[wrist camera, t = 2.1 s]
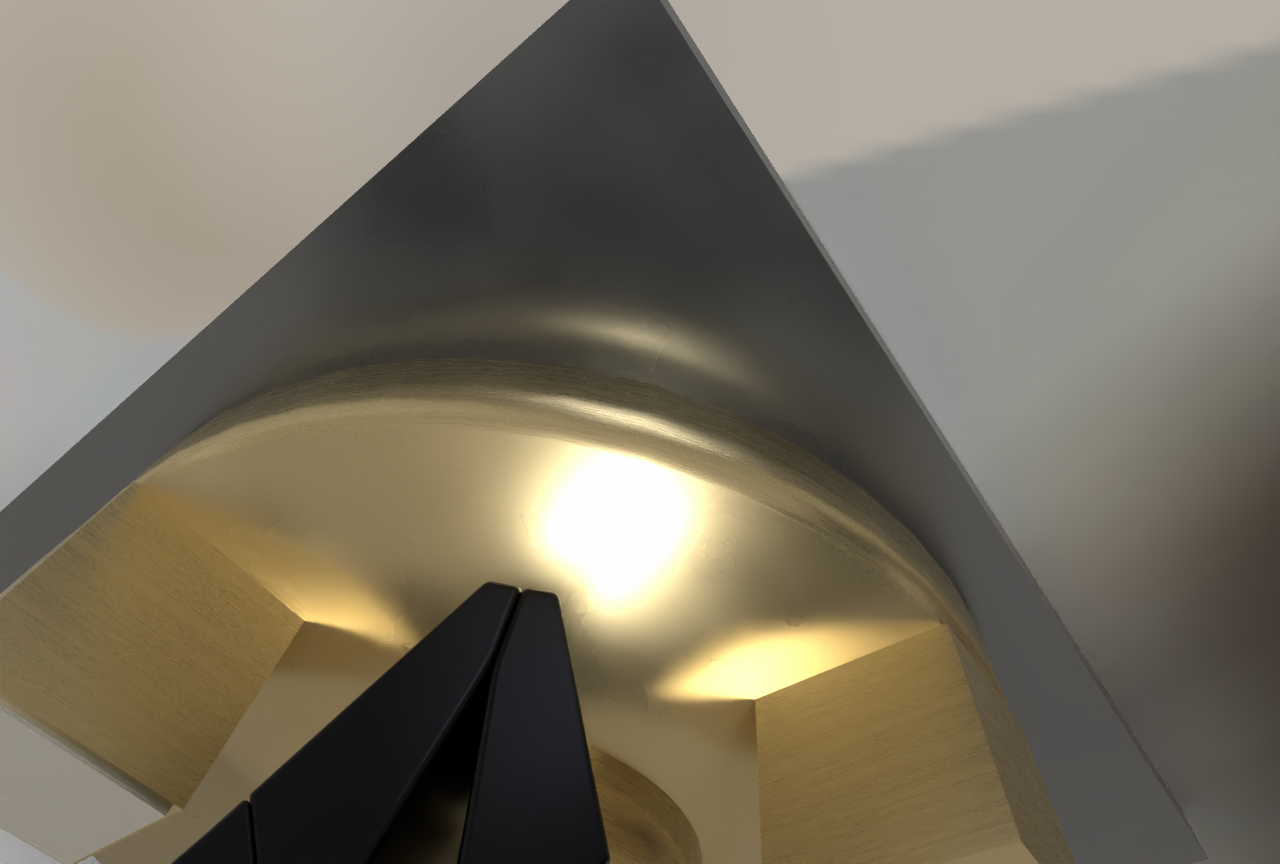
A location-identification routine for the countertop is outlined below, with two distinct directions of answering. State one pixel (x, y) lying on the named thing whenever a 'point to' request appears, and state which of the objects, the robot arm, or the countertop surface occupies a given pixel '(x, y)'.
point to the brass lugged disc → (529, 558)
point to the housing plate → (633, 344)
